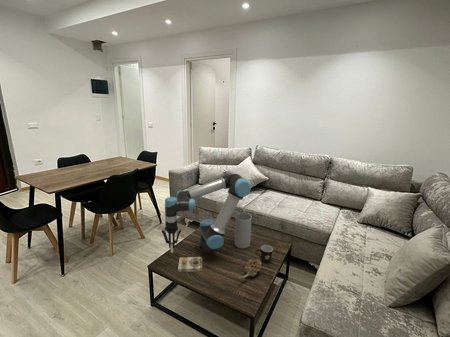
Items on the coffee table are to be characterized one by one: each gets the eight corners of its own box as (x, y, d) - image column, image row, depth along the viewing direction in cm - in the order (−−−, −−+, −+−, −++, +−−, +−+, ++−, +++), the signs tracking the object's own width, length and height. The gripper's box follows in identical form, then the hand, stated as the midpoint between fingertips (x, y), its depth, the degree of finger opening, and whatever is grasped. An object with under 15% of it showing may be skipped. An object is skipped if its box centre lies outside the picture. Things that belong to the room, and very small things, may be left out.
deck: (202, 259, 174) (202, 256, 174) (202, 271, 163) (202, 268, 162) (179, 260, 173) (179, 257, 172) (178, 272, 162) (178, 268, 161)
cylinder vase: (252, 243, 196) (254, 215, 189) (245, 250, 186) (247, 221, 179) (239, 238, 203) (240, 211, 196) (231, 245, 192) (232, 217, 185)
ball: (187, 261, 169) (187, 256, 168) (187, 264, 165) (187, 260, 164) (182, 261, 168) (182, 256, 167) (181, 264, 165) (181, 260, 164)
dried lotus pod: (251, 264, 171) (252, 252, 168) (263, 270, 165) (264, 258, 163) (234, 282, 153) (234, 269, 151) (247, 289, 148) (248, 276, 145)
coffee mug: (273, 258, 178) (274, 246, 175) (270, 265, 170) (271, 253, 167) (258, 254, 182) (258, 242, 180) (254, 260, 175) (255, 248, 172)
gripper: (181, 217, 161) (182, 248, 168) (162, 217, 160) (163, 248, 167) (180, 223, 154) (181, 254, 160) (160, 223, 153) (161, 255, 159)
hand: (172, 251), depth 163 cm, fingers closed
